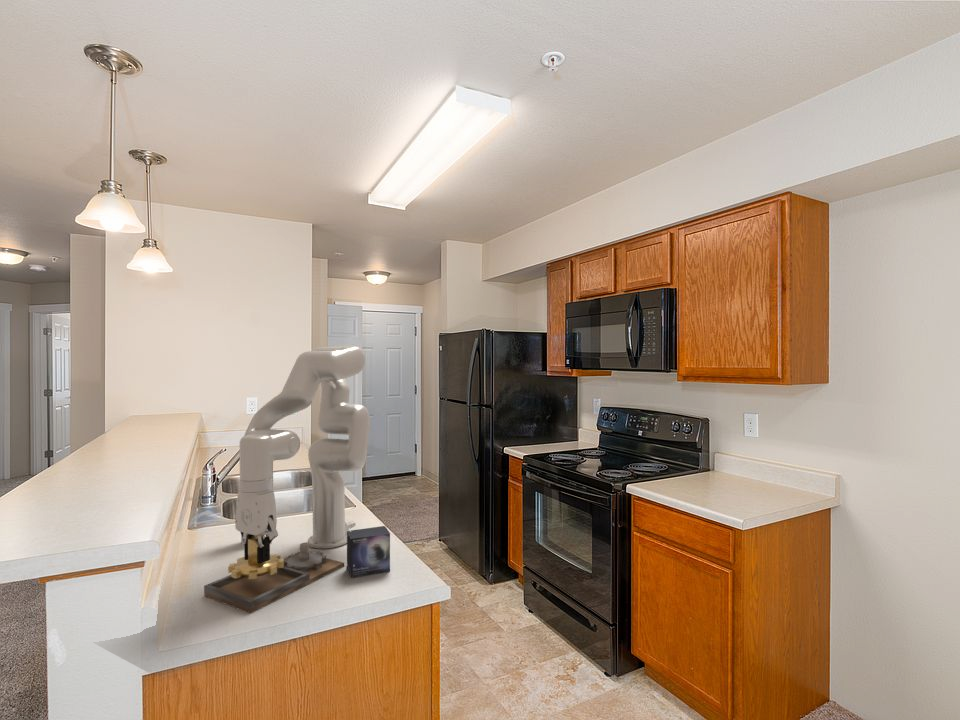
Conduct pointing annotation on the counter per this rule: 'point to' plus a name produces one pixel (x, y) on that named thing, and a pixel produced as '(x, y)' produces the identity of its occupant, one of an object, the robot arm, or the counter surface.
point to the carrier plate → (272, 581)
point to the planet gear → (255, 563)
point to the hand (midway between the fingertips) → (257, 559)
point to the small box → (368, 551)
